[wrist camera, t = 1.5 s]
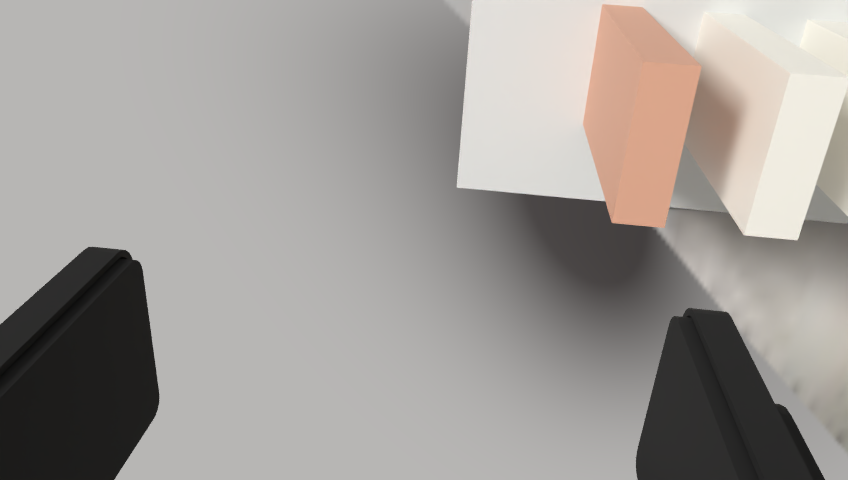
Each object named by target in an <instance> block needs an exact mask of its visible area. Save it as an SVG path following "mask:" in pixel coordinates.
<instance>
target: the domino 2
mask: <svg viewBox="0 0 848 480" xmlns="http://www.w3.org/2000/svg"><path fill="white" fill-rule="evenodd" d="M694 59H695V60H696V61H697V62H698V63H699V64H700V65H701V66H702V67H701V72H700V76H699V80H698V85H697V89H696V93H695V98H694V102H693V106H692V111H691V115H690V119H689V124H688V128H687V132H686V137H685V141H684V144H685V145H686V147H687V148H688V150H689V152H690V153H691V155H692V156H693V158H694V159H695V161H696V162H697V164H698V165H699V167H700V168H701V170H702V172H703V173H704V175H705V176H706V178H707V179H708V181H709V182H710V184H711V185H712V187H713V188H714V190H715V192H716V193H717V195H718V196H719V198H720V199H721V201H722V202H723V204H724V205H725V207H726V208H727V210H728V212H729V213H730V215H731V216H732V218H733V219H734V221H735V222H736V224H737V225H738V227H739V228H740V230H741V232H742V233H743V235H746V236H756V237H767V238H778V239H788V240H798V238H799V235H800V232H801V228H802V225H803V222H804V219H805V216H806V213H807V210H808V207H809V204H810V201H811V198H812V195H813V192H814V189H815V186H816V183H817V179H818V176H819V173H820V170H821V167H822V164H823V161H824V158H825V155H826V152H827V149H828V146H829V143H830V140H831V137H832V134H833V130H834V127H835V124H836V121H837V118H838V115H839V112H840V109H841V106H842V103H843V100H844V97H845V94H846V91H847V88H848V76H846V75H845V74H843V73H841V72H840V71H838V70H836V69H835V68H833V67H831V66H830V65H828V64H826V63H825V62H823V61H821V60H820V59H818V58H816V57H815V56H813V55H811V54H810V53H808V52H806V51H805V50H803V49H801V48H800V47H798V46H796V45H795V44H793V43H791V42H790V41H788V40H786V39H785V38H783V37H781V36H780V35H778V34H776V33H775V32H773V31H771V30H770V29H768V28H766V27H765V26H763V25H761V24H760V23H758V22H756V21H755V20H753V19H751V18H750V17H748V16H746V15H741V14H727V13H714V12H704V14H703V18H702V22H701V27H700V31H699V36H698V40H697V45H696V49H695V54H694Z"/></svg>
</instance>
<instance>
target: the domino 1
mask: <svg viewBox="0 0 848 480" xmlns="http://www.w3.org/2000/svg"><path fill="white" fill-rule="evenodd" d="M701 67H702V66H701V65H700V64H699V63H698V62H697V61H696V60H695V59H694V58H693V57H692V56H691V55H690V54H689V53H688V52H687V51H686V50H685V49H684V48H683V47H682V46H681V45H680V44H679V43H678V42H677V41H676V40H675V39H674V38H673V37H672V36H671V35H670V34H669V33H668V32H667V31H666V30H665V29H664V28H663V27H662V26H661V25H660V24H659V23H658V22H657V21H656V20H655V19H654V18H653V17H652V16H651V15H650V14H649V13H648V12H647V11H646V10H645V9H644V8H643V7H634V6H621V5H607V4H602V9H601V15H600V21H599V27H598V33H597V40H596V46H595V52H594V58H593V64H592V70H591V77H590V83H589V89H588V95H587V101H586V108H585V114H584V120H583V126H584V130H585V133H586V136H587V140H588V143H589V147H590V150H591V153H592V157H593V160H594V163H595V167H596V170H597V174H598V177H599V180H600V184H601V187H602V190H603V194H604V197H605V201H606V204H607V207H608V211H609V214H610V217H611V221H612V223H619V224H630V225H640V226H651V227H661V228H665V223H666V219H667V215H668V210H669V206H670V202H671V197H672V193H673V189H674V184H675V180H676V176H677V171H678V167H679V163H680V158H681V154H682V150H683V145H684V141H685V137H686V132H687V128H688V124H689V119H690V115H691V111H692V106H693V102H694V98H695V93H696V89H697V85H698V80H699V76H700V72H701Z"/></svg>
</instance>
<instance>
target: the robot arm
mask: <svg viewBox="0 0 848 480" xmlns="http://www.w3.org/2000/svg"><path fill="white" fill-rule="evenodd" d="M158 405H159V389H158V382H157V375H156V367H155V359H154V352H153V345H152V337H151V329H150V322H149V315H148V307H147V300H146V292H145V285H144V277H143V270H142V266H141V264H140V262H138V261H137V260H132V257H131V255H130V253H129V252H127V251H126V250H118V249H108V248H98V247H88V248H87V249H85V250H84V251H83V252H81V253H80V254H79V255H78V256H77V257H76V258H75V259H74V260H72V261H71V262H70V263H69V264H68V265H67V266H66V267H64V268H63V269H62V270H61V271H60V272H59V273H58V274H57V275H55V276H54V277H53V278H52V279H51V280H50V281H49V282H48V283H46V284H45V285H44V286H43V287H42V288H41V289H40V290H39V291H37V292H36V293H35V294H34V295H33V296H32V297H31V298H30V299H29V300H28V301H26V302H25V303H24V304H23V305H22V306H21V307H20V308H19V309H17V310H16V311H15V312H14V313H13V314H12V315H11V316H9V317H8V318H7V319H6V320H5V321H4V322H3V323H1V324H0V480H114V479H115V478H116V476H117V474H118V473H119V471H120V470H121V468H122V467H123V465H124V464H125V462H126V461H127V459H128V457H129V456H130V454H131V453H132V451H133V450H134V448H135V447H136V445H137V444H138V442H139V440H140V439H141V437H142V436H143V434H144V433H145V431H146V430H147V428H148V427H149V425H150V424H151V422H152V421H153V419H154V417H155V415H156V412H157V410H158ZM636 472H637V478H638V480H825V479H824V477H823V475H822V473H821V471H820V470H819V467H818V466H817V464H816V462H815V460H814V458H813V456H812V454H811V452H810V450H809V448H808V447H807V445H806V443H805V441H804V439H803V437H802V435H801V433H800V431H799V429H798V428H797V425H796V424H795V422H794V420H793V418H792V416H791V415H790V413H789V412H788V410H787V409H786V407H784V406H782V405H780V404H775V403H774V401H773V399H772V398H771V395H770V393H769V391H768V389H767V387H766V385H765V383H764V381H763V379H762V377H761V375H760V373H759V371H758V370H757V368H756V365H755V364H754V362H753V360H752V358H751V356H750V354H749V352H748V350H747V348H746V346H745V344H744V342H743V340H742V338H741V336H740V334H739V332H738V330H737V328H736V326H735V324H734V322H733V320H732V318H731V316H730V315H729V313H727V312H722V311H711V310H702V309H693V308H688V309H687V310H686V311H685V313H684V315H683V317H678V316H674V317H672V319H671V321H670V324H669V327H668V331H667V335H666V339H665V343H664V347H663V351H662V355H661V359H660V363H659V367H658V371H657V374H656V378H655V382H654V386H653V390H652V394H651V398H650V402H649V406H648V410H647V414H646V418H645V422H644V426H643V430H642V434H641V438H640V442H639V446H638V450H637V457H636Z"/></svg>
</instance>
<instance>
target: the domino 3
mask: <svg viewBox="0 0 848 480" xmlns="http://www.w3.org/2000/svg"><path fill="white" fill-rule="evenodd" d="M800 48H801V49H803V50H805V51H806V52H808V53H810V54H811V55H813V56H815V57H816V58H818V59H820V60H821V61H823V62H825V63H826V64H828V65H830V66H831V67H833V68H835V69H836V70H838V71H840V72H841V73H843V74H845V75H846V76H848V22H834V21H821V20H808V19H807V23H806V26H805V30H804V33H803V37H802V40H801V44H800ZM816 185H817V186H818V187H819V188H820V189H821V190H822V191H823V192H824V193H825V194H826V195H827V196H828V197H829V198H830V199H831V200H832V201H833V202H834V203H835V204H836V205H837V206H838V207H839V208H840V209H841V210H842V211H843V212H844V213H845V214H846V215H847V216H848V88H847V91H846V94H845V97H844V100H843V103H842V106H841V109H840V112H839V115H838V118H837V121H836V124H835V127H834V130H833V134H832V137H831V140H830V143H829V146H828V149H827V152H826V155H825V158H824V161H823V164H822V167H821V170H820V173H819V176H818V179H817V183H816Z"/></svg>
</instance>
